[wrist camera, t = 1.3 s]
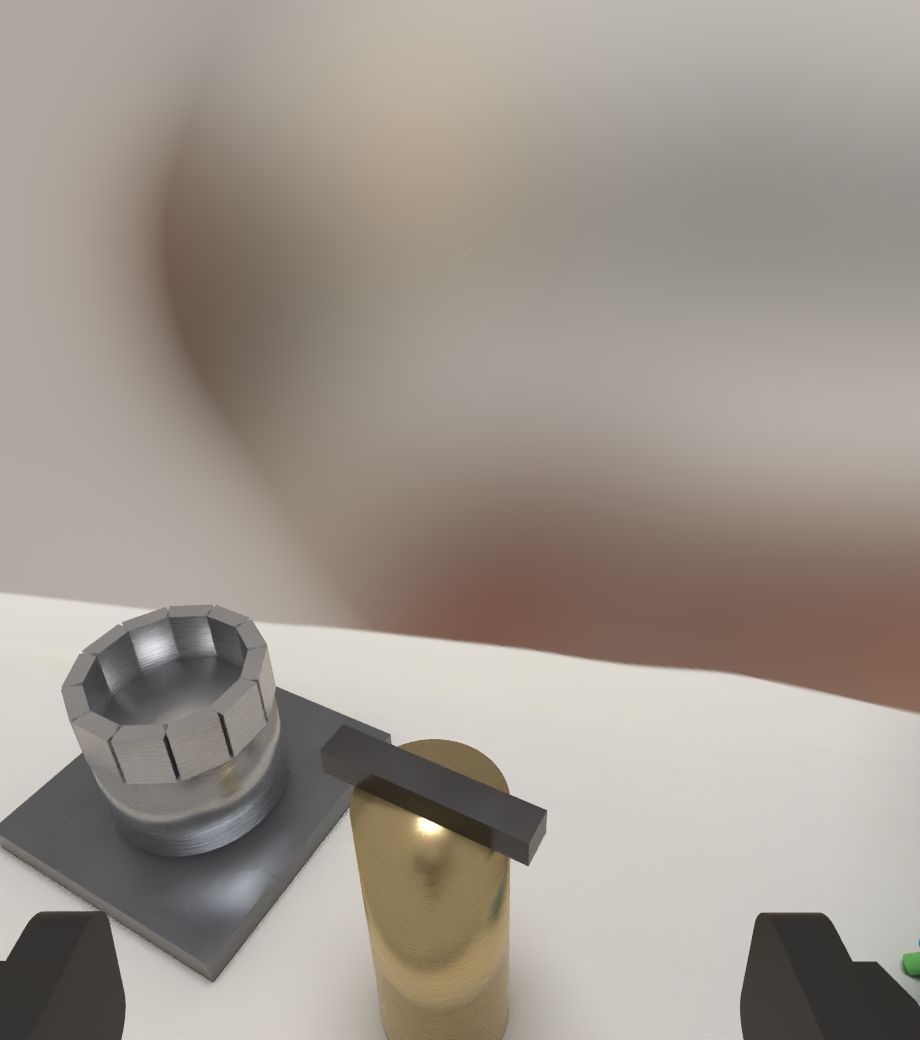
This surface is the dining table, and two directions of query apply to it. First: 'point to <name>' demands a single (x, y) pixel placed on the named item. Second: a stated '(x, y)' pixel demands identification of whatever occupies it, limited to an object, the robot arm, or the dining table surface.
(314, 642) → the dining table surface
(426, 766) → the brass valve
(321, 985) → the dining table surface
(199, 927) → the pipe socket
